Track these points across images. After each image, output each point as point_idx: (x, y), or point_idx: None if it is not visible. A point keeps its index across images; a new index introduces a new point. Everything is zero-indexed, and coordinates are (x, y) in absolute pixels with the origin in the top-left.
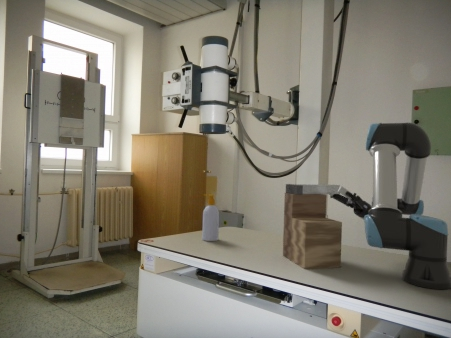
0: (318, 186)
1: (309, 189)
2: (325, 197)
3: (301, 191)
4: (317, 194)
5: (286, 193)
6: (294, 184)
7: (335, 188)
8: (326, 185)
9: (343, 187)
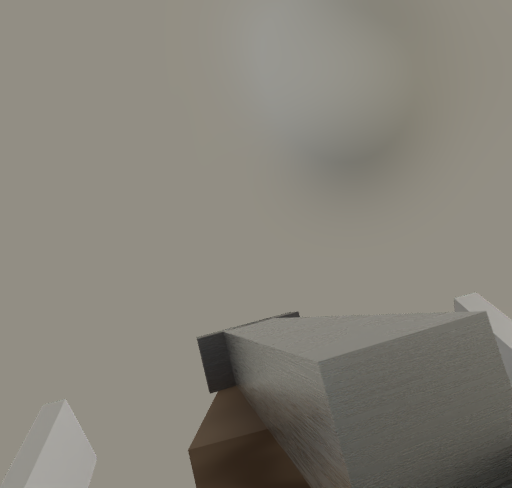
0: (243, 349)
1: (237, 365)
2: (195, 473)
3: (205, 373)
4: (219, 419)
5: None
6: (265, 320)
7: (300, 408)
8: (255, 345)
9: (29, 434)
